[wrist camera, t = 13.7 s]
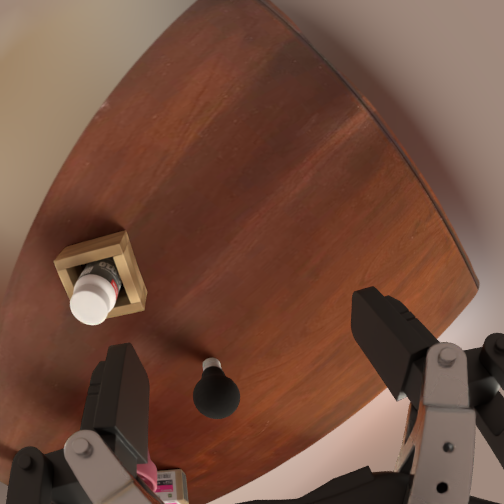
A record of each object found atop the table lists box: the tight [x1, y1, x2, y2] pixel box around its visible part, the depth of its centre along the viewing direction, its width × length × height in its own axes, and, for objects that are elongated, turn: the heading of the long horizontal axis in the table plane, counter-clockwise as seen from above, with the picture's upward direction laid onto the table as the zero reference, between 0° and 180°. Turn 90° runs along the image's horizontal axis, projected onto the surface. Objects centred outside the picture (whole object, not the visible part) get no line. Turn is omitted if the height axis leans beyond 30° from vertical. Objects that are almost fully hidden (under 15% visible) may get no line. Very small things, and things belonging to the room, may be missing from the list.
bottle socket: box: [54, 230, 147, 323], centre depth 32 cm, size 8×8×4 cm
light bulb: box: [193, 358, 240, 419], centre depth 38 cm, size 6×6×10 cm
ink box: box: [154, 469, 189, 504], centre depth 51 cm, size 10×4×8 cm, turn 98°
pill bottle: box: [70, 257, 122, 325], centre depth 30 cm, size 5×5×8 cm
